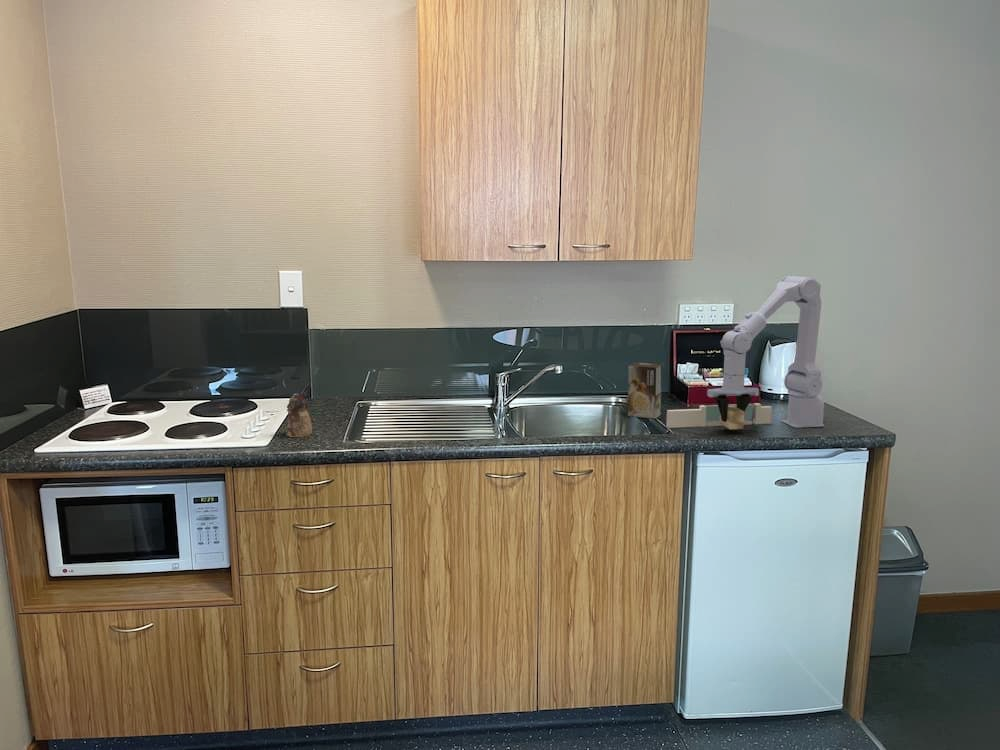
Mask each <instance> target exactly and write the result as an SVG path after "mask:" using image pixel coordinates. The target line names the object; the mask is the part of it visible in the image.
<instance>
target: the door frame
mask: <svg viewBox="0 0 1000 750" xmlns="http://www.w3.org/2000/svg"><path fill="white" fill-rule="evenodd" d="M753 404H755V414H754V419H747V420H744V426H746V425H747V426H749V425H768V424H769V425H771V424H772V415H773V407H772V406H770V405H767V406H766V405H764V406H763V405H762V403H759V402H758V403H757V402H755V403H753ZM719 422H720V421H706V405H704V404H701V405H699V408H691V409H690V408H688V409H667V410H666V426H667V427H666V428H668V429H673V428H698V427H699V428H700V427H718V426H719V427H721V426H723V425H722V424H720V423H719ZM723 427H724V426H723Z"/></svg>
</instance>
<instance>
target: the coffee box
mask: <svg viewBox="0 0 1000 750" xmlns="http://www.w3.org/2000/svg"><path fill="white" fill-rule="evenodd" d="M662 365H663V364H658V363H648V362H645V363H644V362H632V363H630V364H629V365H628V373H627V374H628V382H627V392H628V393H627V416H628V417H637V418H647V419H657V418H658V417H660V416H661V414H662V413H661V409H662V408H661V400H662V399H661V398H662V369H663V368H662Z"/></svg>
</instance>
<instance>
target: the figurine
mask: <svg viewBox="0 0 1000 750" xmlns="http://www.w3.org/2000/svg"><path fill="white" fill-rule="evenodd" d="M307 395H308V394H307V393H306V392H303V393H302V394H301V395H300V394H299V393H294V394H292V396H291V397H290V398H289V400H288V404H287V406H286V409H287V411H286V412H287V413H288V420H287V427H286V437H287V436H289V438H291V437H301V438H305V437H304V436H306V437H308V436H307V435H309V436H311V435H312V434H311V433H313V425H312V420H311V416H310V414H309V412H308V410H309V402H308V400H306V399H305V398H306V397H307ZM303 404H305V407H303ZM310 434H311V435H310Z"/></svg>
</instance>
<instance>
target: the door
mask: <svg viewBox="0 0 1000 750" xmlns="http://www.w3.org/2000/svg"><path fill="white" fill-rule="evenodd" d="M705 406H706V422H711V421H720V411H719V407H718V405H717V404H713V405H712V404H711V405H705ZM728 406H735V407H737V403H736V404H728ZM754 414H755V404H754V403H749V404H748V406H747V408H746V410H745V412H744V420H753V419H754Z"/></svg>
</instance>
